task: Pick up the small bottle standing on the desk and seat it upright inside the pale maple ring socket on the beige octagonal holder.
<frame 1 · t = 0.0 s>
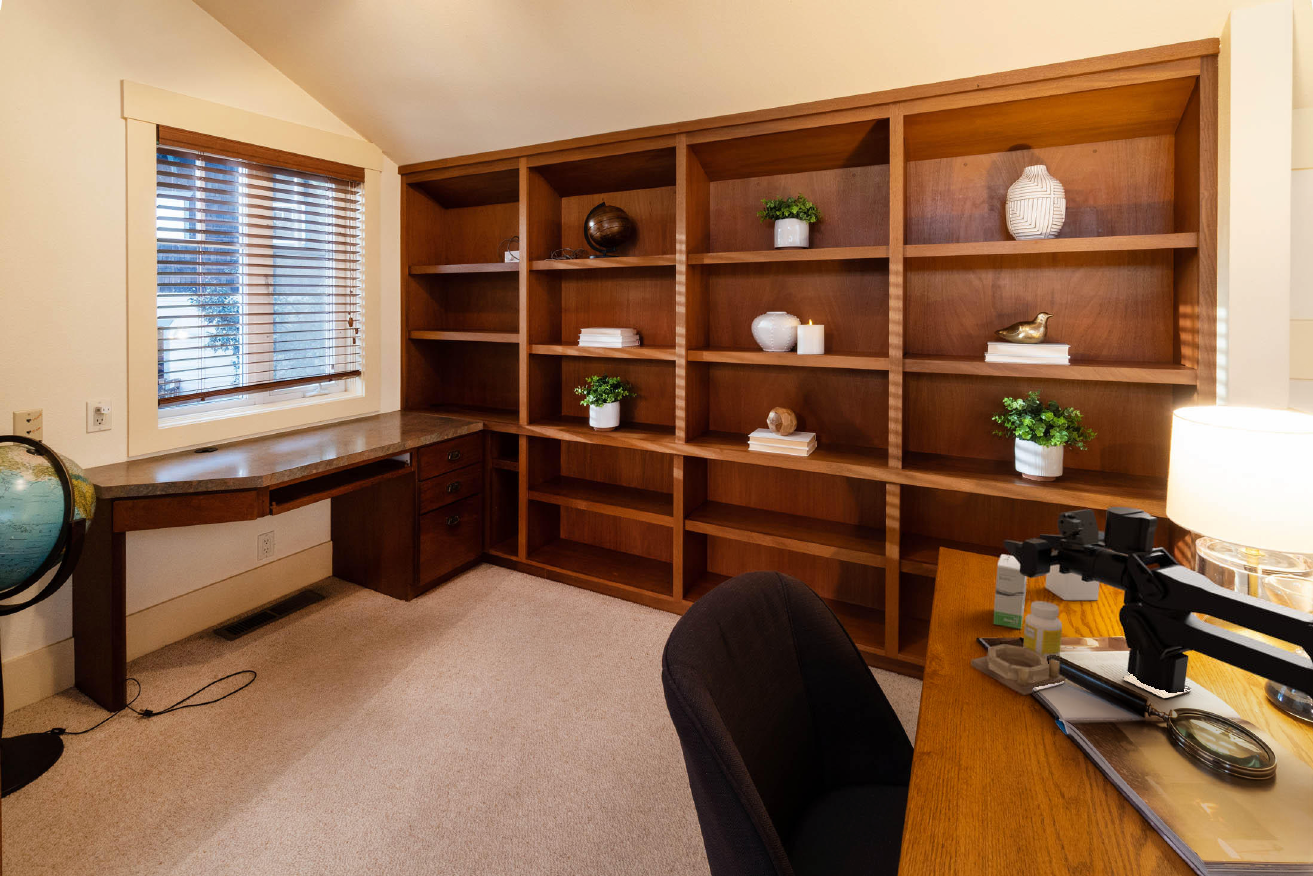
hand: (1022, 539, 124), 17 cm above the table, tool horizontal, fingers open, 9 cm apart
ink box: (1008, 620, 128), on the table
beige octagonal holder: (1016, 674, 107), on the table
supplement bottle: (1040, 661, 112), on the table
medicine bottle: (1070, 595, 140), on the table
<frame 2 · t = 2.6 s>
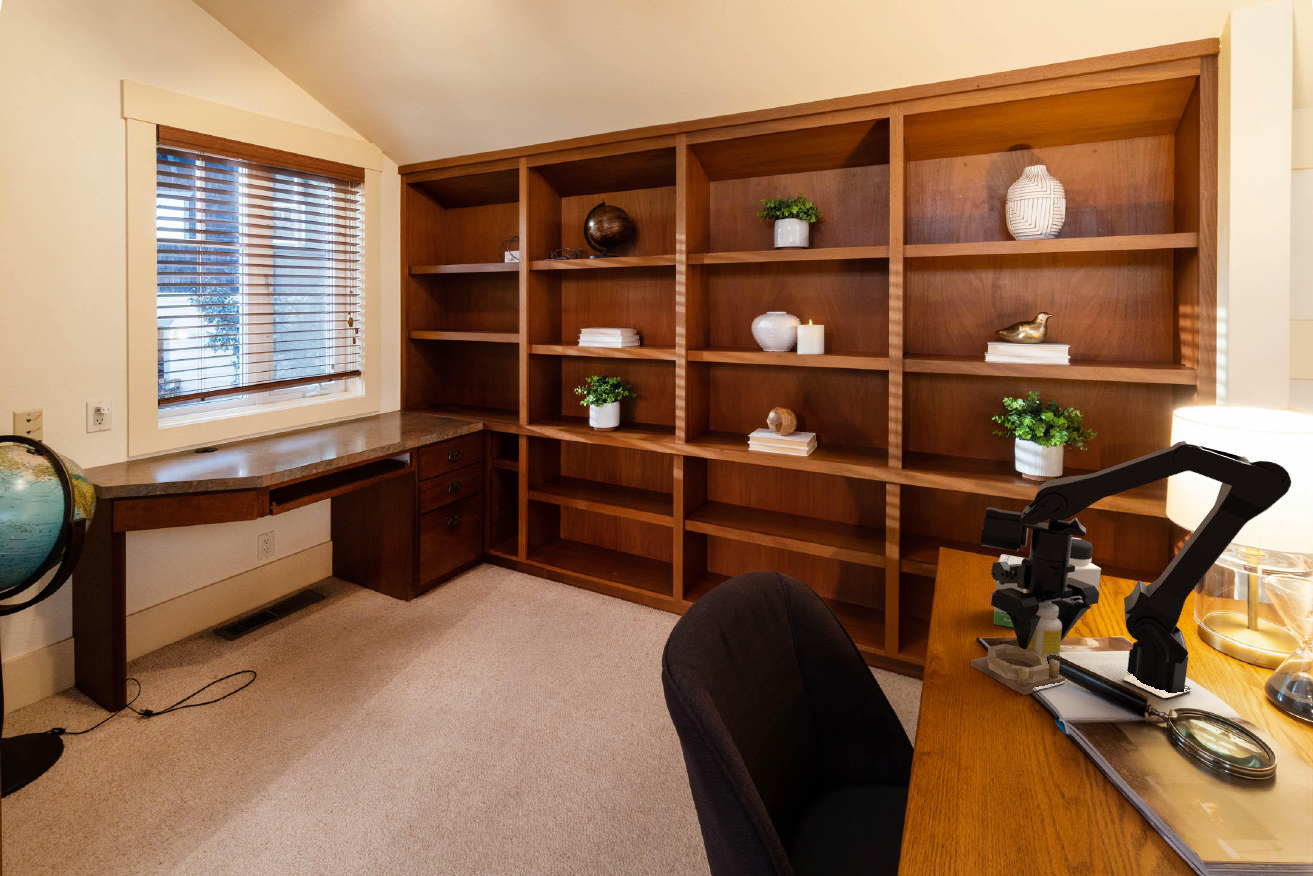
hand: (1040, 644, 111), 3 cm above the table, tool pointing down, fingers open, 8 cm apart
nothing on the table moved.
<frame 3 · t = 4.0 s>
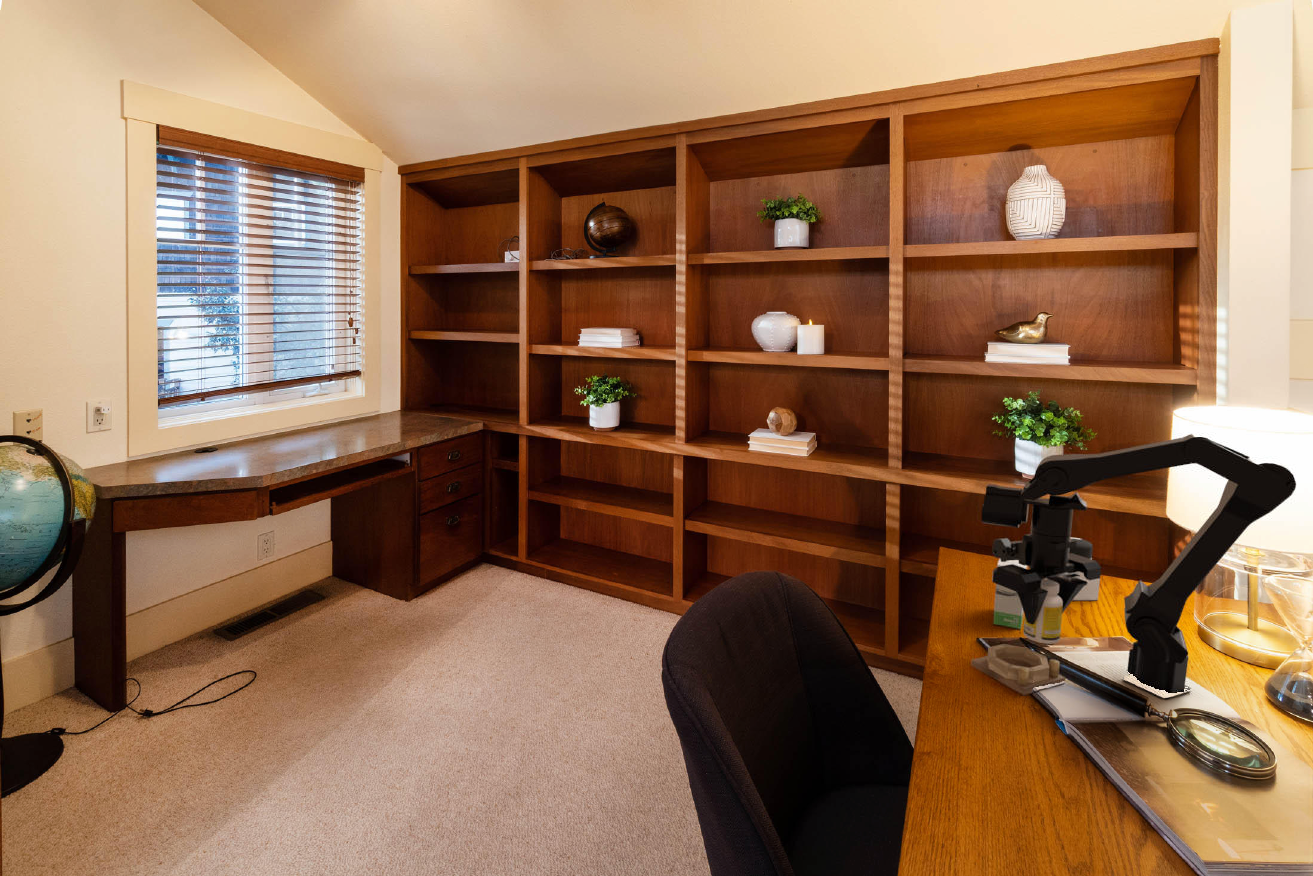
hand: (1042, 620, 111), 7 cm above the table, tool pointing down, fingers closed on supplement bottle, 5 cm apart
supplement bottle: (1041, 638, 112), point 4 cm above the table, touching gripper
everything else where it was.
when the fingers open (4 cm above the table, at t = 6.9 s): supplement bottle stays where it is, resting on beige octagonal holder.
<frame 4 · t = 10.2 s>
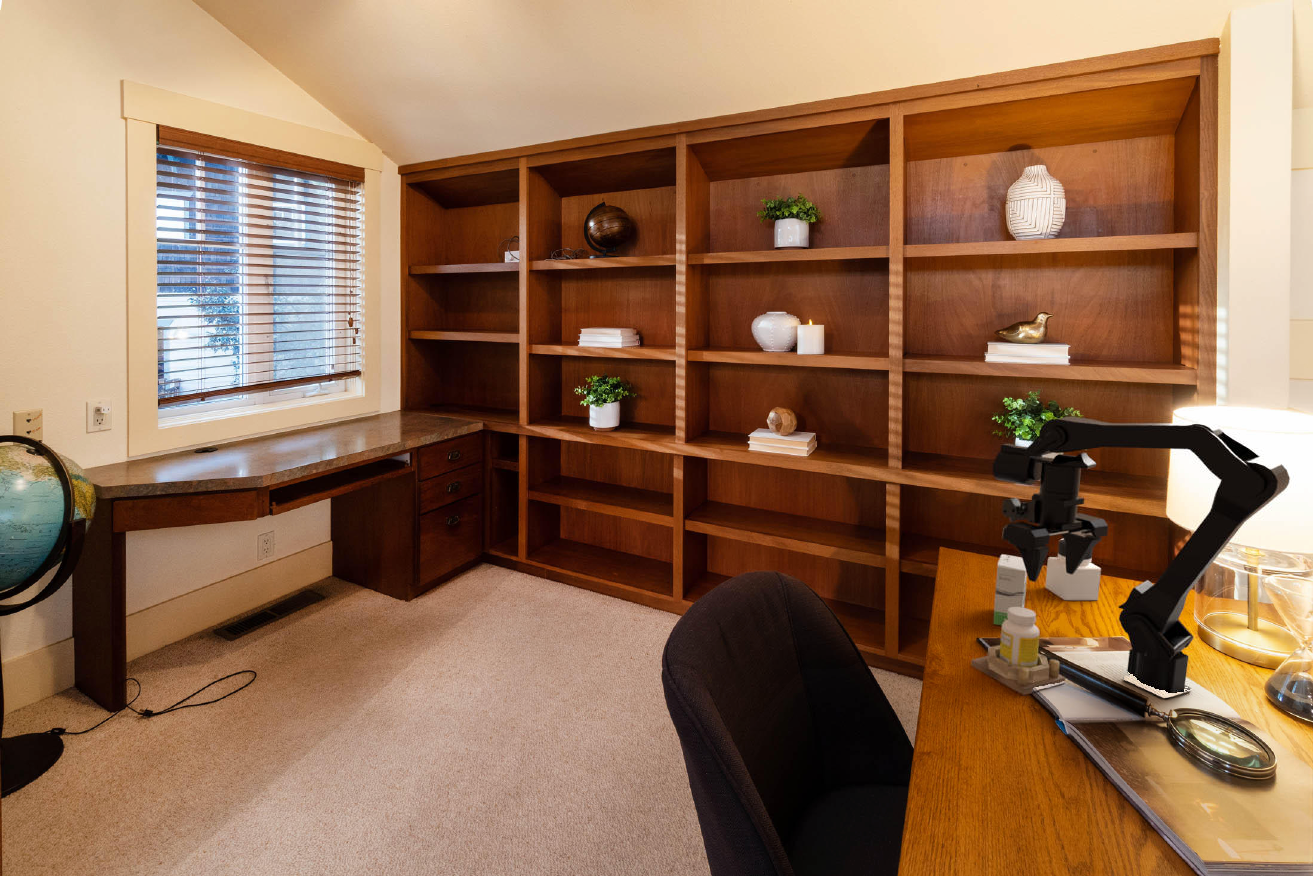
hand: (1051, 577, 115), 13 cm above the table, tool pointing down, fingers open, 9 cm apart
supplement bottle: (1017, 669, 107), point 1 cm above the table, touching beige octagonal holder
everything else where it was.
at the end: supplement bottle 0.1 cm from the beige octagonal holder (horizontally); supplement bottle tilted 0°; the gripper is holding nothing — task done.
